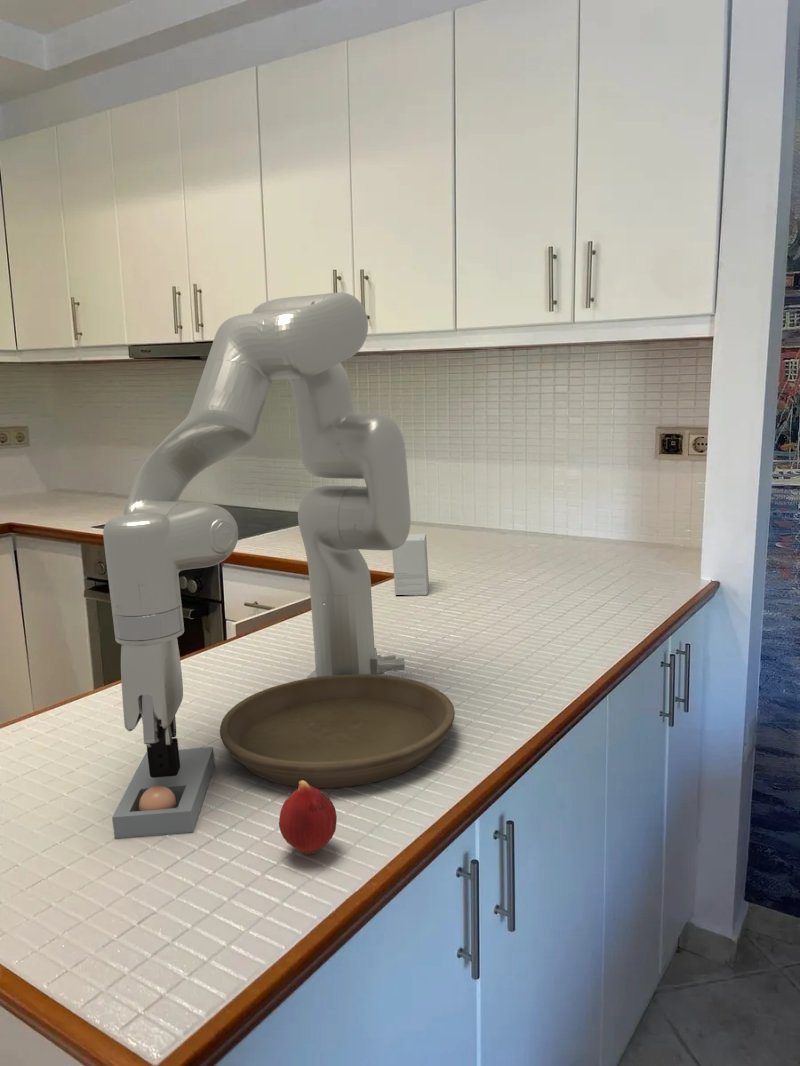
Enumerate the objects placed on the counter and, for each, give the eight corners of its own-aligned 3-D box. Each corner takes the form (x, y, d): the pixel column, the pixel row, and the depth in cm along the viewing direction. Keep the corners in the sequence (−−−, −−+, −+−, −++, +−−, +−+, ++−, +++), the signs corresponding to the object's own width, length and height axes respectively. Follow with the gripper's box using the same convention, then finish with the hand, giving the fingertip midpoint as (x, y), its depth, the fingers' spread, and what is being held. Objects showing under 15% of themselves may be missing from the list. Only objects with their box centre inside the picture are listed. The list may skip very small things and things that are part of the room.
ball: (172, 782, 92) (171, 820, 91) (179, 786, 96) (179, 822, 94) (135, 785, 92) (133, 823, 91) (144, 788, 96) (143, 825, 94)
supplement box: (429, 587, 190) (427, 533, 188) (427, 595, 183) (425, 539, 180) (397, 588, 191) (394, 534, 189) (394, 596, 184) (391, 540, 181)
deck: (215, 765, 106) (213, 747, 106) (193, 832, 91) (190, 811, 90) (148, 770, 106) (146, 752, 106) (114, 838, 90) (112, 817, 90)
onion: (339, 836, 89) (334, 766, 87) (337, 867, 83) (332, 793, 81) (285, 839, 88) (279, 769, 87) (279, 871, 83) (272, 796, 81)
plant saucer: (336, 684, 133) (334, 657, 132) (500, 728, 114) (499, 697, 113) (174, 758, 110) (170, 725, 109) (345, 829, 90) (343, 790, 89)
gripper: (131, 607, 101) (147, 748, 105) (95, 646, 87) (115, 808, 90) (194, 603, 102) (208, 743, 105) (169, 641, 87) (186, 803, 90)
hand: (165, 773), depth 97 cm, fingers closed
